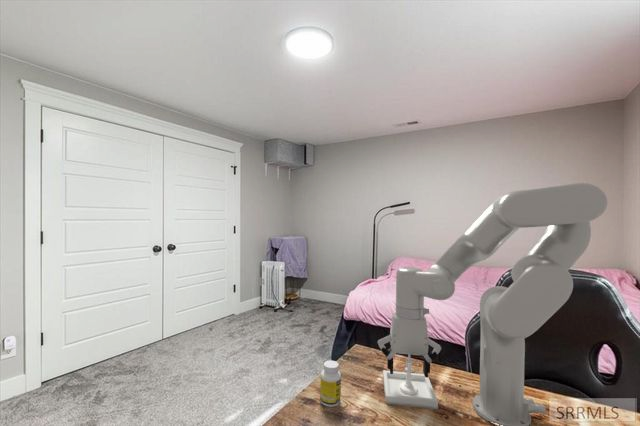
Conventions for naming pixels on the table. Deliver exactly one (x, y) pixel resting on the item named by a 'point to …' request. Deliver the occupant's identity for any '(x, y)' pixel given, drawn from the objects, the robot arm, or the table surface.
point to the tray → (396, 397)
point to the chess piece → (408, 380)
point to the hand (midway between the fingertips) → (408, 373)
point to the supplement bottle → (330, 384)
